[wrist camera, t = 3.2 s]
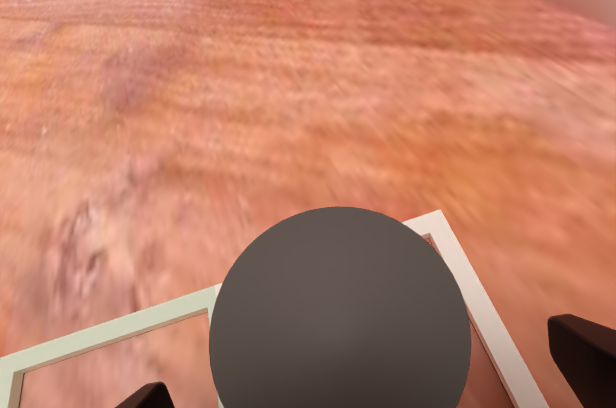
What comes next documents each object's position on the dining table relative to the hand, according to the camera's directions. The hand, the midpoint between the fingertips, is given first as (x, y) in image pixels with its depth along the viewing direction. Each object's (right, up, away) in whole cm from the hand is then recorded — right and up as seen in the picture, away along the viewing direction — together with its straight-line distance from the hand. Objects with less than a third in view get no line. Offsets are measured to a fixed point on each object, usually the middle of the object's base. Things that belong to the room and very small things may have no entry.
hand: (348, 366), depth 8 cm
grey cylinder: (+2, -4, +7) cm, 9 cm away
